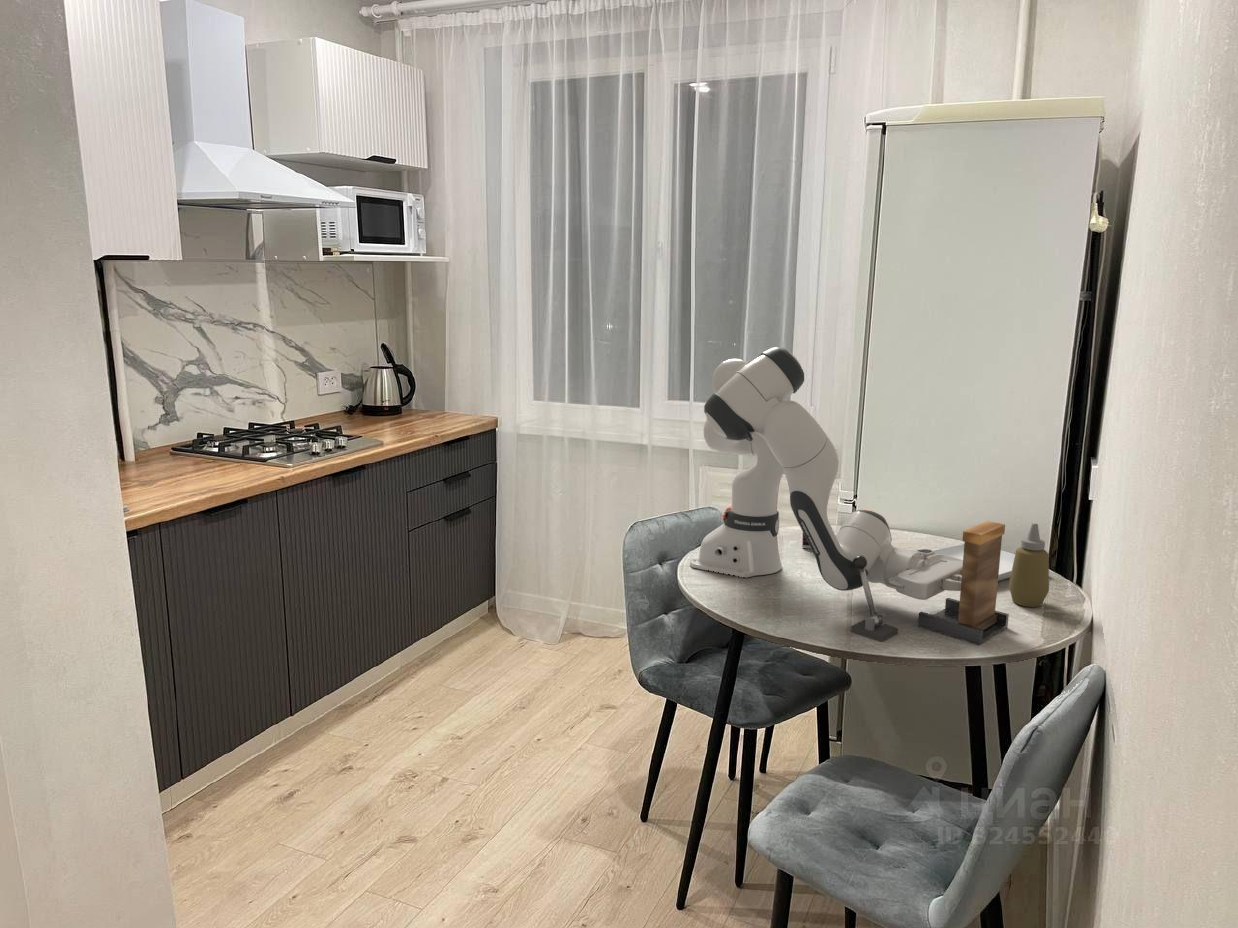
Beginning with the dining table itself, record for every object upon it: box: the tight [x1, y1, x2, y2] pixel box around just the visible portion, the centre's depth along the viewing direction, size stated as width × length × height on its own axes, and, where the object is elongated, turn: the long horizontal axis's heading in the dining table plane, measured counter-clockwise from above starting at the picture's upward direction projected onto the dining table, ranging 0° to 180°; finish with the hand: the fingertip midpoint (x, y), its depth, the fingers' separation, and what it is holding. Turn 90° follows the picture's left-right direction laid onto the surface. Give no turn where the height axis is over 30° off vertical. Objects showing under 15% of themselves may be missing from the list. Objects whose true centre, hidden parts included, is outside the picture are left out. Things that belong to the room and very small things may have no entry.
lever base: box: [850, 611, 899, 643], centre depth 178 cm, size 7×6×4 cm
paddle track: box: [917, 597, 1010, 646], centre depth 181 cm, size 13×13×3 cm
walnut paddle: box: [957, 520, 1006, 630], centre depth 177 cm, size 4×11×21 cm, turn 133°
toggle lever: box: [853, 555, 883, 627], centre depth 178 cm, size 3×3×14 cm
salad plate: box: [933, 543, 1015, 582], centre depth 217 cm, size 21×21×3 cm
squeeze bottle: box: [1008, 523, 1050, 608], centre depth 193 cm, size 8×8×18 cm
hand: (971, 587), depth 178 cm, fingers closed, pressing on walnut paddle
